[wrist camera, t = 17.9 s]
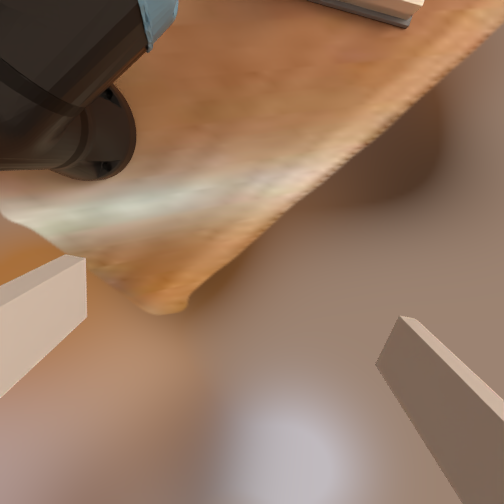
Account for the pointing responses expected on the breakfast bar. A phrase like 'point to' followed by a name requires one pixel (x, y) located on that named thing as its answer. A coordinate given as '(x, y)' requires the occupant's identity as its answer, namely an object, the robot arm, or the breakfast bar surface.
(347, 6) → the mat
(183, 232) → the breakfast bar surface
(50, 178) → the breakfast bar surface
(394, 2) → the dish
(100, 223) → the breakfast bar surface
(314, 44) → the breakfast bar surface
